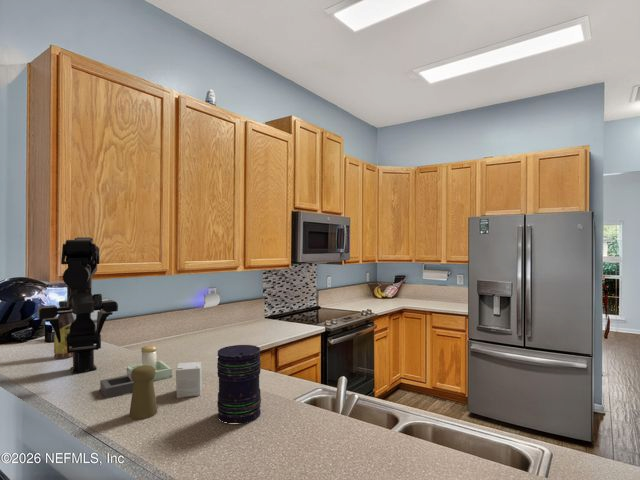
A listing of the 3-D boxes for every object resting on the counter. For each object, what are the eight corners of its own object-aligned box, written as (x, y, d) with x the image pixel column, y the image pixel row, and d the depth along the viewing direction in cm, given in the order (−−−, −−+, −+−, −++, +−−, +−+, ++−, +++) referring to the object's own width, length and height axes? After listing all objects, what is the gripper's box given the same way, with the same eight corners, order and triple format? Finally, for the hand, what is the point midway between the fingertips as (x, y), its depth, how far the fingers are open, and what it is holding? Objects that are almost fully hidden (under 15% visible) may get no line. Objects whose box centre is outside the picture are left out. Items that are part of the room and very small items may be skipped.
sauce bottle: (67, 359, 134) (67, 302, 134) (49, 359, 134) (49, 302, 134) (79, 354, 141) (79, 299, 141) (62, 354, 141) (62, 299, 141)
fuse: (139, 373, 117) (139, 347, 117) (154, 370, 119) (154, 344, 120) (143, 377, 113) (143, 349, 114) (158, 374, 116) (158, 347, 116)
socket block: (100, 389, 106) (100, 380, 106) (131, 382, 111) (131, 374, 111) (105, 398, 99) (105, 388, 99) (139, 390, 104) (139, 381, 104)
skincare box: (201, 387, 107) (201, 360, 107) (200, 396, 101) (200, 367, 101) (178, 389, 105) (178, 362, 105) (175, 398, 99) (175, 369, 99)
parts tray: (126, 374, 118) (126, 366, 118) (160, 368, 124) (160, 360, 124) (136, 384, 109) (136, 375, 109) (172, 377, 115) (172, 368, 115)
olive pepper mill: (129, 422, 86) (129, 372, 86) (128, 411, 91) (128, 365, 92) (158, 416, 89) (158, 368, 89) (156, 406, 94) (156, 361, 94)
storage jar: (214, 410, 92) (214, 347, 92) (255, 403, 96) (254, 342, 96) (221, 428, 83) (220, 358, 83) (266, 420, 86) (265, 353, 87)
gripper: (41, 289, 96) (41, 351, 96) (122, 283, 109) (122, 339, 108) (37, 285, 105) (37, 343, 105) (113, 281, 117) (113, 332, 117)
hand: (79, 339), depth 109 cm, fingers open, 9 cm apart
